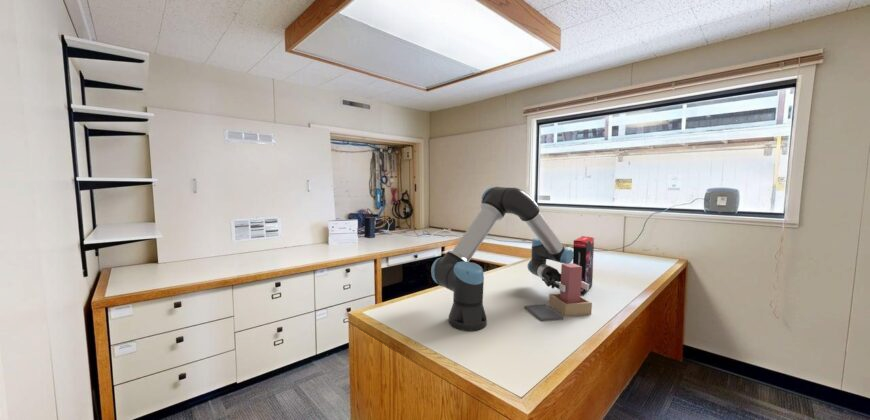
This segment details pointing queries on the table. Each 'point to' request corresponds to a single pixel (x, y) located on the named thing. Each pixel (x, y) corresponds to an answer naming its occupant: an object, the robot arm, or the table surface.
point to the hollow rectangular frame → (570, 306)
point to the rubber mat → (543, 312)
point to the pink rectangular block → (571, 283)
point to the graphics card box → (584, 258)
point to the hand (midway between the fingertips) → (576, 288)
